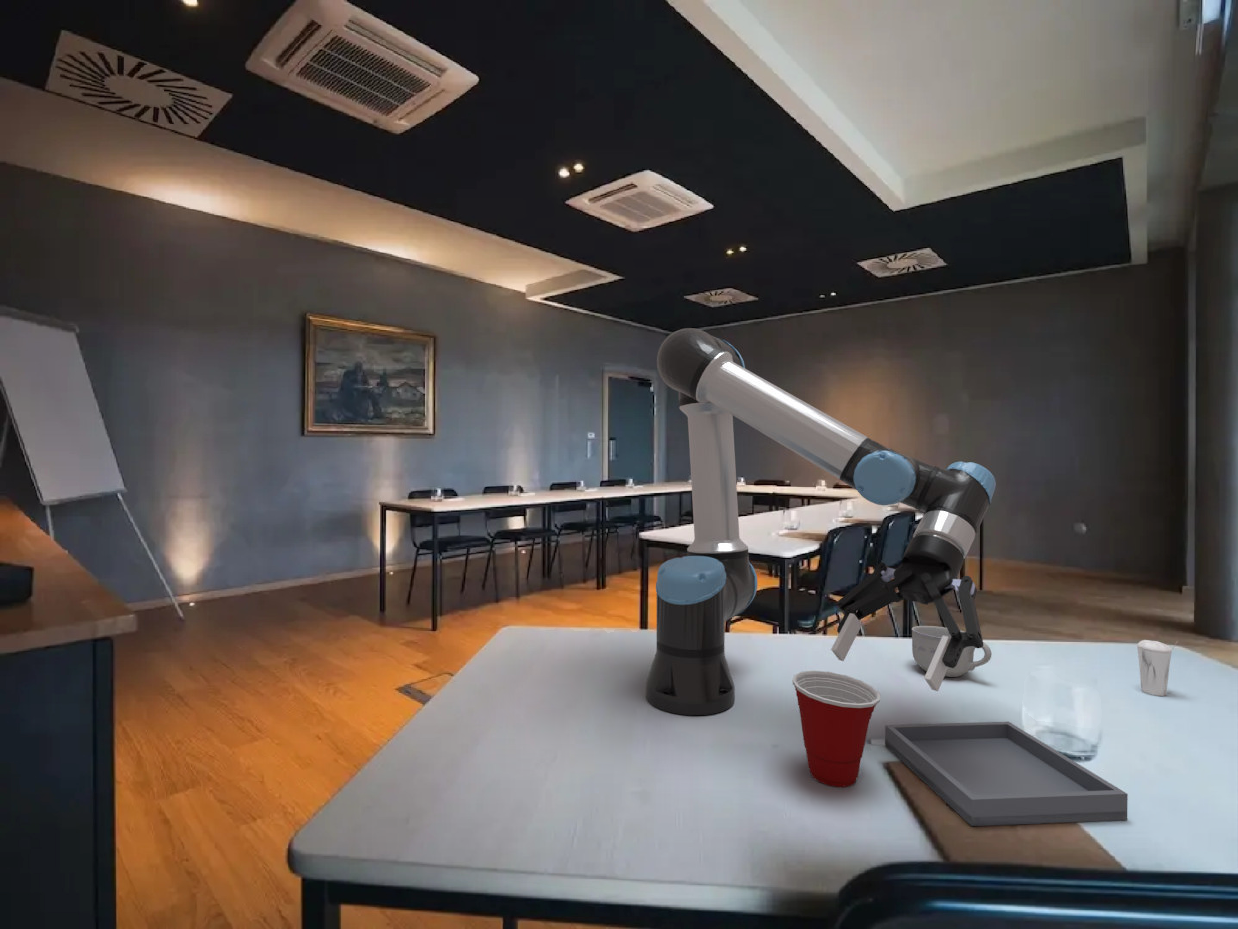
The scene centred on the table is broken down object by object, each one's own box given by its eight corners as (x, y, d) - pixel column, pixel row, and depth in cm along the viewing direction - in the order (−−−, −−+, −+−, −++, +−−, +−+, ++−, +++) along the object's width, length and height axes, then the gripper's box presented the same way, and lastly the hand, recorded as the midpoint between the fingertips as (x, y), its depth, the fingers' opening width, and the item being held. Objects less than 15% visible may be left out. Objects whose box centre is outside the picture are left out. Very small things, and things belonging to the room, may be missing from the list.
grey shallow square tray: (971, 826, 66) (971, 799, 66) (885, 745, 84) (885, 725, 84) (1127, 820, 67) (1127, 794, 67) (1008, 742, 86) (1008, 721, 86)
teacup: (899, 666, 117) (899, 626, 117) (937, 659, 122) (937, 621, 121) (964, 692, 104) (964, 647, 104) (1004, 683, 109) (1005, 640, 109)
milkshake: (1175, 701, 101) (1176, 643, 101) (1134, 692, 105) (1135, 636, 105) (1179, 694, 104) (1179, 638, 104) (1138, 685, 108) (1139, 631, 108)
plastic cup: (889, 804, 70) (890, 704, 70) (795, 793, 72) (796, 696, 72) (870, 759, 81) (870, 672, 81) (788, 751, 83) (788, 666, 83)
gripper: (1041, 578, 80) (989, 716, 71) (871, 553, 100) (815, 659, 92) (1024, 542, 77) (968, 682, 68) (852, 524, 97) (793, 631, 89)
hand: (880, 669), depth 80 cm, fingers open, 13 cm apart
